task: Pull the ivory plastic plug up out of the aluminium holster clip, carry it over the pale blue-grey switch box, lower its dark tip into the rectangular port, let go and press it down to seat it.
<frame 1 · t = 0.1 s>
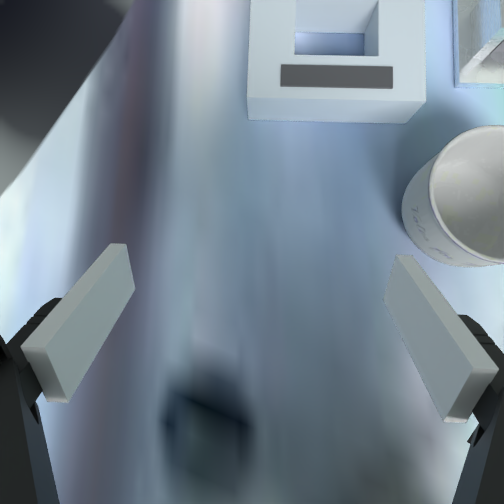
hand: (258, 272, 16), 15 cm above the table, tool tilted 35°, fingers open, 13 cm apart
switch box: (327, 57, 33), on the table
teacup: (456, 223, 31), on the table
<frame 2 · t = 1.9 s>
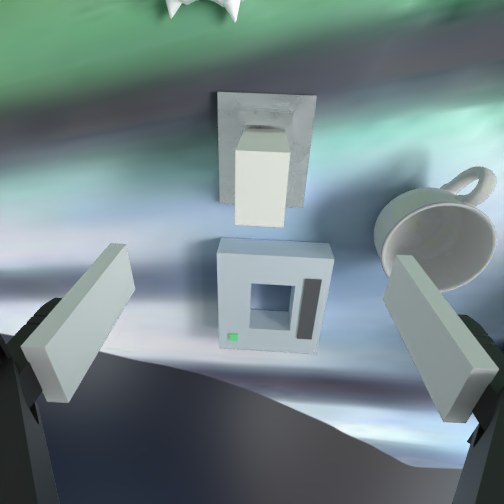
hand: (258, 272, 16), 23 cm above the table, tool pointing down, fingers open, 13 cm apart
switch box: (271, 289, 45), on the table
plug: (263, 154, 35), point 1 cm above the table, touching holster
teacup: (418, 210, 38), on the table
holster: (263, 152, 36), on the table
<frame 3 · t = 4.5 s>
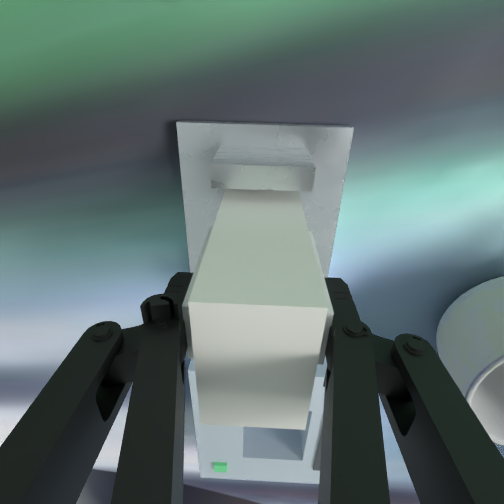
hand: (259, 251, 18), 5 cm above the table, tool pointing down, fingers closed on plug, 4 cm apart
switch box: (274, 395, 31), on the table
plug: (260, 221, 21), point 1 cm above the table, touching gripper, holster
holster: (260, 216, 22), on the table
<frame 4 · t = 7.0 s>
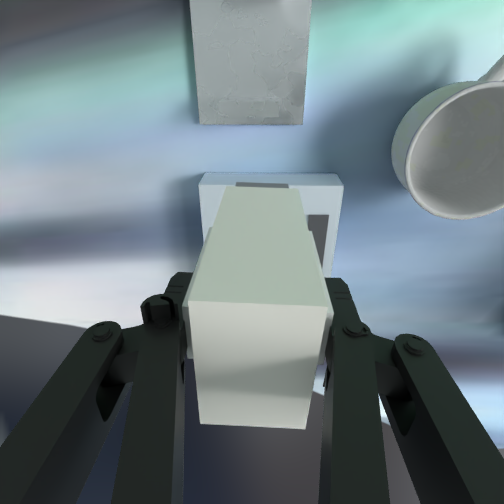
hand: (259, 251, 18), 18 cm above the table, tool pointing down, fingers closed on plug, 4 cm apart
switch box: (268, 239, 38), on the table
plug: (260, 221, 21), point 15 cm above the table, touching gripper
teacup: (445, 123, 31), on the table
holster: (250, 51, 29), on the table
when the fingers open (6 cm above the table, at t = 9.7 s): plug drops 2 cm, resting in switch box.
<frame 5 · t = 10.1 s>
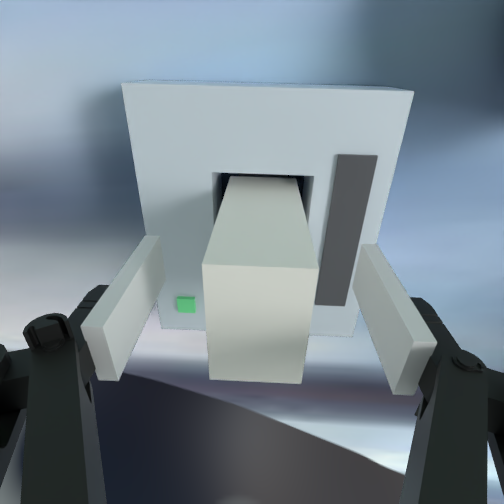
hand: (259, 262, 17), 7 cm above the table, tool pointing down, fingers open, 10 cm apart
switch box: (261, 209, 23), on the table
plug: (261, 209, 23), resting in switch box
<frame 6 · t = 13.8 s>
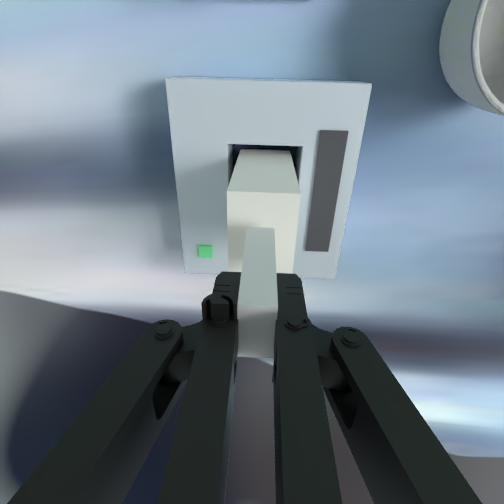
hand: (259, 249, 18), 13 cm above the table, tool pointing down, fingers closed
switch box: (263, 178, 29), on the table
plug: (264, 178, 29), resting in switch box
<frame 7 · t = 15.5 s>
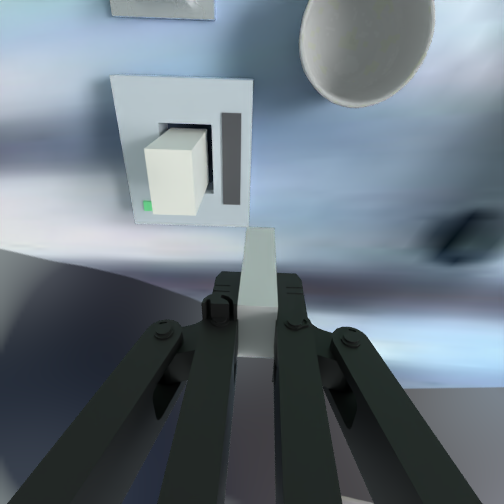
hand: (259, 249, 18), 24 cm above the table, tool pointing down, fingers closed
switch box: (193, 151, 39), on the table
plug: (193, 151, 39), resting in switch box
teacup: (353, 25, 32), on the table
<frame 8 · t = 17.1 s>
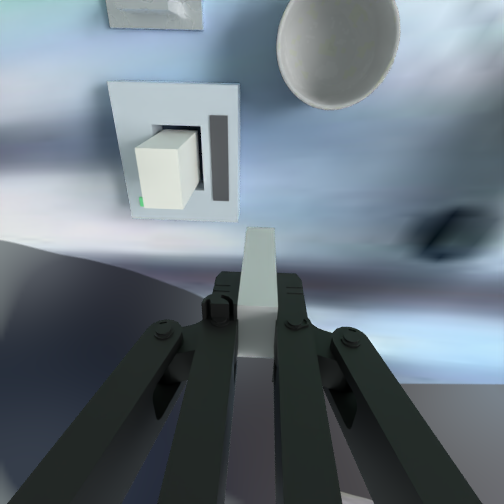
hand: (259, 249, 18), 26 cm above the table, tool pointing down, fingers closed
switch box: (186, 151, 41), on the table
plug: (186, 151, 41), resting in switch box
teacup: (332, 33, 35), on the table
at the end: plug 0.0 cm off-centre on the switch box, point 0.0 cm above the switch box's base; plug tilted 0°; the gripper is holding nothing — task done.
